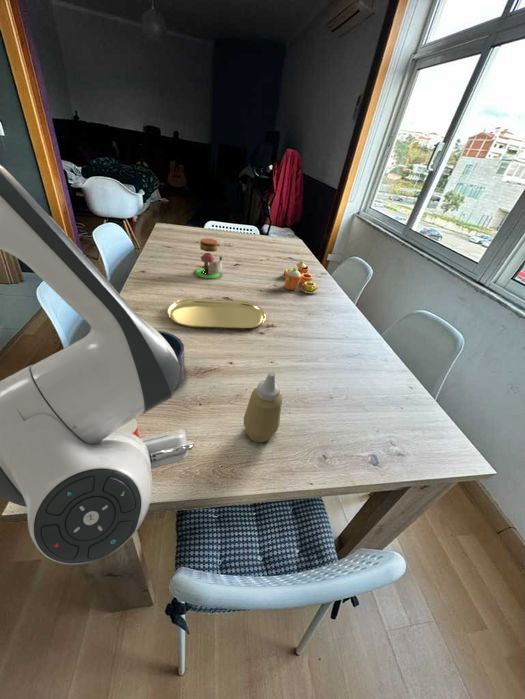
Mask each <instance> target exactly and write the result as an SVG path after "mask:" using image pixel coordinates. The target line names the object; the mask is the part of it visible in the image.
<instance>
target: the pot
mask: <svg viewBox="0 0 525 699" xmlns="http://www.w3.org/2000/svg"><path fill="white" fill-rule="evenodd" d="M155 330H156V331H158V332H159V333H160V334H161V335H162V336H163V337H164V339H165V340H166V341H167V342H168V343H169V345H170V346H171V348H172V349H173V351H174V353H175V355H176V357H177V360H178V363H179V365H180V372H179V377H178V381H177V384H176V387H175V390H174V392H175V391H176V390H178V389H179V388H180V387H181V385H182V384H183V382H184V380H185V376H186V374H185V370H186V369H185V344H184V343H183V341H182V340H181V338H179V337H178V336H177V335H175V334H172V333H170V332H167V331H163V330H157V329H155Z"/></svg>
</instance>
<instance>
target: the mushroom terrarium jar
mask: <svg viewBox="0 0 525 699" xmlns="http://www.w3.org/2000/svg"><path fill="white" fill-rule="evenodd" d="M218 244H219V242H218V241H217V240H216V239H214V238H207V237H206V238H201V239H200V248H199V249H200V250H201V251H204V253H203V255H201V256H200V260H201V262H203V263H204V264H203V265H202V267H201V268H199V269H197V270H196V271H195V274H196V276H198V277H199V278H203V279H209V280H210V279H211V280H212V279H217V278H219V277H220V275H221V272H222V271H223V257H222V256H221V255H219V261H215V256H214V255H213V254H212V253H214V252H217V251H218V246H219V245H218ZM204 270H205V271H204ZM203 271H204V273H203ZM205 273H206V274H205Z"/></svg>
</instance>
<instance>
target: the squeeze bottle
mask: <svg viewBox="0 0 525 699" xmlns="http://www.w3.org/2000/svg"><path fill="white" fill-rule="evenodd" d="M282 405H283V396H282V394H281V387H280V385H279V384H278V383H277V382H276V373H275V372H274V371H270V372H268V374H267V376H266V378H265V379H263V380H261V381H259V382H258V384H257V386H256V387H255V388H254V389H253V390H252V392H251V394H250V397H249V400H248V404H247V406H246V409H245V412H244V416H243V425H244V429H245V431H246V434H247V436H248V437H249V439H250V440H252V441H254V442H256V443H264V442H267V441H269V440H270V439H271V438H272V437H273V436H274V435H275V434H276V433H277V432H278V430H279V427H280V422H281V413H282Z"/></svg>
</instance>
